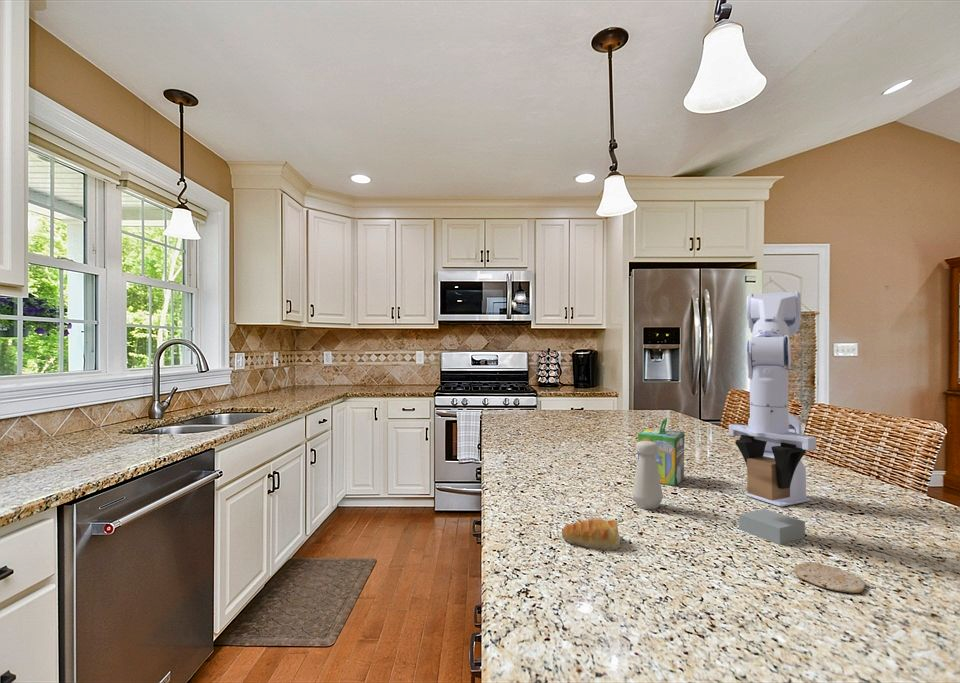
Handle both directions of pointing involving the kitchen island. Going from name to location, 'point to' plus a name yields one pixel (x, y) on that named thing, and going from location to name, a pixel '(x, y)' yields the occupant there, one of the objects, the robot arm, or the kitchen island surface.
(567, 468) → the kitchen island surface
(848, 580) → the flatbread
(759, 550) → the kitchen island surface
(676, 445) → the chalk box
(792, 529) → the base slab
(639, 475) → the salt shaker
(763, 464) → the walnut block
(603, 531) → the pastry
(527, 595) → the kitchen island surface
